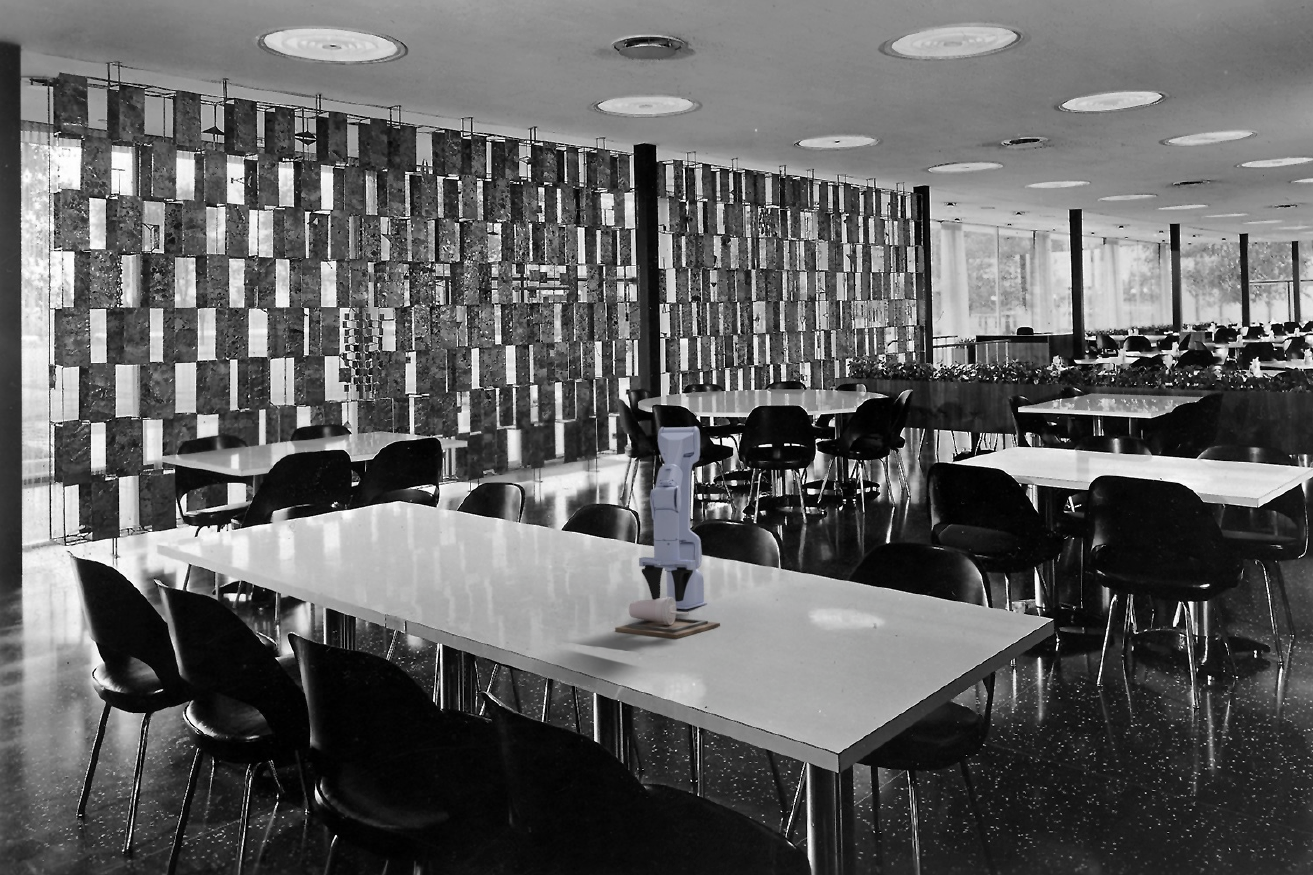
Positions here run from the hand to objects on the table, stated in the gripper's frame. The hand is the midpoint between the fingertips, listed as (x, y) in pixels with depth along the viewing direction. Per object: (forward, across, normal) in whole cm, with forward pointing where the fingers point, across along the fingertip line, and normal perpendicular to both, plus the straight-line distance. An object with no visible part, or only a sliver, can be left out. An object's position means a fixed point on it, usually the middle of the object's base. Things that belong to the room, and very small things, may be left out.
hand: (667, 599), depth 238 cm
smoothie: (+3, -9, -2) cm, 10 cm away
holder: (+7, 0, 0) cm, 7 cm away
